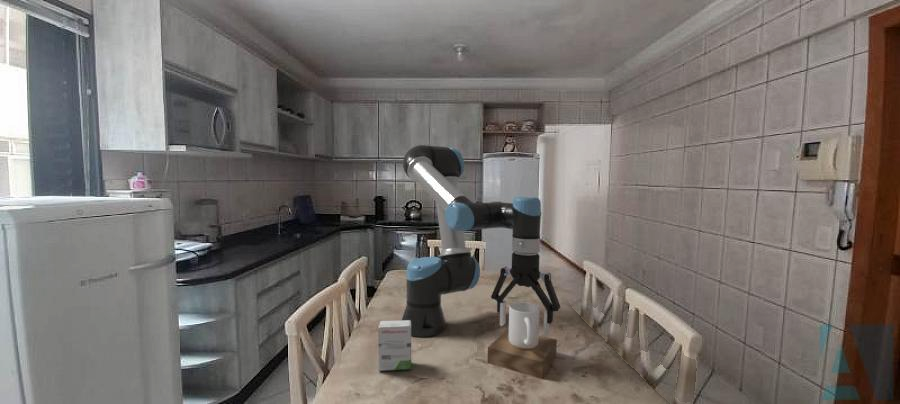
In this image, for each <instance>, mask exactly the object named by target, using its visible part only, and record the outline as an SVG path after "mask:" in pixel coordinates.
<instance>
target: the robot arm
mask: <svg viewBox="0 0 900 404" xmlns="http://www.w3.org/2000/svg"><path fill="white" fill-rule="evenodd" d="M404 154H405V155H404V157H403V159H402V168H403V171H404V173H405V175H406V176H407V177H408V178H409V179H410V180H411V181H412V182H415V183H418V184H419V186H420V187H422V189H423V190H424V191H425V192H426V193H427V195H429V196H430V197H431V198H432V199H433V200H434V201H435V204H436V212H437V219H438V220H437V222H438V227H439V236H440V242H441V243H440V244H441V253H440V254H439V255H438V257H437V256H423V257H419V258H415V259H413V260H411V261H410V262H409V263H408V265H407V269H406V275H405V278H406V305H405V308H404V309H405V310H404V312H403V316H402V318H401V320H411V337H419V338H420V337H421V338H422V337H423V338H425V337H433V336H437V335H440V334H442V333H443V332H445V331H446V326H447V325H446V318H445V315H444V311H443V307H442V304H441V303H442V296H443V295H447V294H453V293H459V292H466V291H467V290H472V289H473V288H475V287H476V285H477V284H478V283H479V281H480V278H481V277H480V276H481V268H480V264H479V262H478V261H477V259H476V257H473V256H472V253H471V251H470V249H468V248H467V247H466V242H465V241H466V240H465V234H464V232H467V231H473V230H485V229H487V230H488V229H497V228H498V229H500V228H502V229H508V230H512V236H511V237H512V241H511V242H512V244H511V250H512V251H513V252H512V253H511V268H509V267H507V266H503V267H502V268H501V269H500V270H499V271H500V272H499V275H500V276H499V277H498V280H497V282H496V283H495V286H494V289H493V292H492V293H491V295H490V298H491V299H492V300H495V301H496V303H497V304H496V307H497V308H496V312H497V313H498V314H499V326H500V327H503V326H504V325H505V324H506V323H507V321H506V320H507V319H506V318H507V316H506V315H507V301H506V300H505V298H506V297H507V296H508V295H509V294H510V292H511V291H512V290H513V289H514V288H515V287H516V285H517V286H519V287H526V288H531V289H532V291H534V292H535V294H536V296H537V297H538V298H539V300H540V302H541V303H542V305H543V307H544V308H545V310H544V311H543V335H542V336H543V337H546V336H548V335H549V333H550V325H551V324H552V323H553V322H554V312H558V311H560V308H561V304H560V302H559V299H558V296H557V294H556V291H555V288H554V285H553V282H552V274H551V273H550V272H547V273H542V272H541V271H540V260H541V259H540V254H539V253H540V252H541V250H540V249H541V220H542V205H541V202H542V201H541V199H540V198H538V197H535V196H534V197H533V196H530V197H529V196H516V197H514V198H513V201H512V202H504V201H503V202H502V201H490V202H473V201H472V200H471V199H469V198H468V197H467V196H466V195H465V194H464V193H463V192H462V191H461V190H460V189H459V188H458V183H459V181H460V180H461V179H460V178H461V176H462V175H463V173H464V169H465V162H464V161H465V160H464V158H463V155H462V153H461V152H460V150H458V149H456V148H455V147H450V146H438V145H436V146H435V145H426V144H419V145H415V146H413V147H411V148H410V149H408V150H407V152H406V153H404ZM509 274H510V276H511V277H512V280H511V281H510V283H508V285H507V286H506V288H505V289H503V292H501V291H502V288H503V285H504V284H505V281H506V279H507V277H508V276H509ZM539 279H541V280H542V282H543V283H544V286H545V290H546V292H547V294H546V293H545V291H544V289H542V286H541V284H540V282H539ZM500 292H501V294H500ZM499 294H500V295H499Z"/></svg>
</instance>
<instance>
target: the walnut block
mask: <svg viewBox="0 0 900 404" xmlns="http://www.w3.org/2000/svg"><path fill="white" fill-rule="evenodd" d="M557 343H558V341H557V339H555V338H551V337H546V336H543V335H539V339H538V345H537V346H536V347H535V348H532V349H521V348H517V347H514V346H513V345H511V343H510V342H509V327H508V328H506V329H505V330H504V331H503V332H502V333H501V334H500V335H498V337H497V338H496V339H495V340H494V341H493V342H492V343H490V345H488V346H487V364H490V365H493V366H496V367H500V368H503V369H506V370H509V371H512V372H516V373H521V374H523V375H526V376H530V377H533V378H538V379H539V380H540V379H541V380H542V379H543V378H544V376H545V375H546V373H547V371H548V369H549V368H550V366H551V364H552V363H553V361H554V360H555V357H556V356H557V347H558V345H557Z"/></svg>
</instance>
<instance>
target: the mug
mask: <svg viewBox="0 0 900 404" xmlns="http://www.w3.org/2000/svg"><path fill="white" fill-rule="evenodd" d="M508 309H509V311H508V314H509V315H508V329H509V342H510V343H511V345H513V346H514V347H517V348H521V349H532V348H535V347H536V346H537V345H538V339H539V336H540V334H539V332H540V307H539V306H538V305H537V304H534V303H531V302H530V303H529V302H523V301H522V302H521V301H517V302H513V303H510V304H509V308H508Z"/></svg>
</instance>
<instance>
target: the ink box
mask: <svg viewBox="0 0 900 404" xmlns="http://www.w3.org/2000/svg"><path fill="white" fill-rule="evenodd" d="M377 333H378V335H377V336H378V339H377V340H378V342H377V343H378V352H377V353H378V371H381V372H382V371H401V370H402V371H403V370H404V371H405V370H412V336H411V320H402V319H401V320H380V321H379V323H378V330H377Z"/></svg>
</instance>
